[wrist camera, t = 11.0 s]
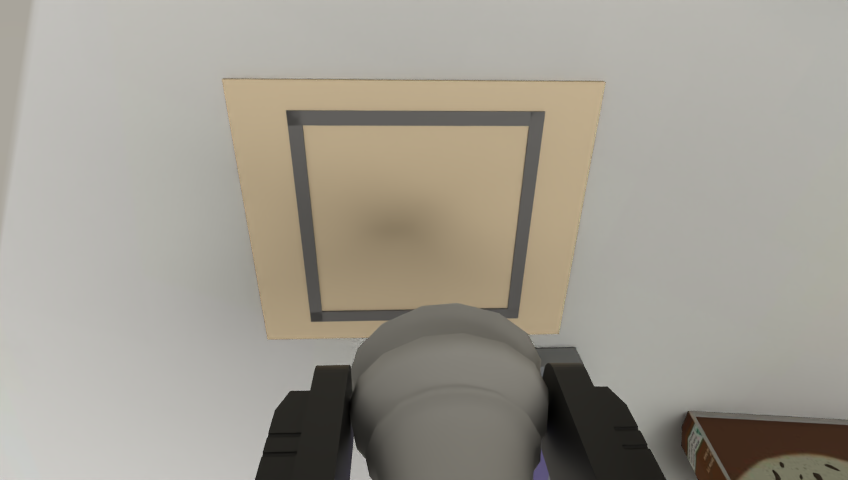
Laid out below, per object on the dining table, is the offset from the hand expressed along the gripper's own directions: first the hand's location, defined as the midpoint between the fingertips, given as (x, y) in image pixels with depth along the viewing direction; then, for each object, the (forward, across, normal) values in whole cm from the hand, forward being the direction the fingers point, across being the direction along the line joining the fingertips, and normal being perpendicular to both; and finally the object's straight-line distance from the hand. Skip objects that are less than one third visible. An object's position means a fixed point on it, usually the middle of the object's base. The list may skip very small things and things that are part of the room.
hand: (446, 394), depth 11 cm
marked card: (+9, 0, 0) cm, 9 cm away
